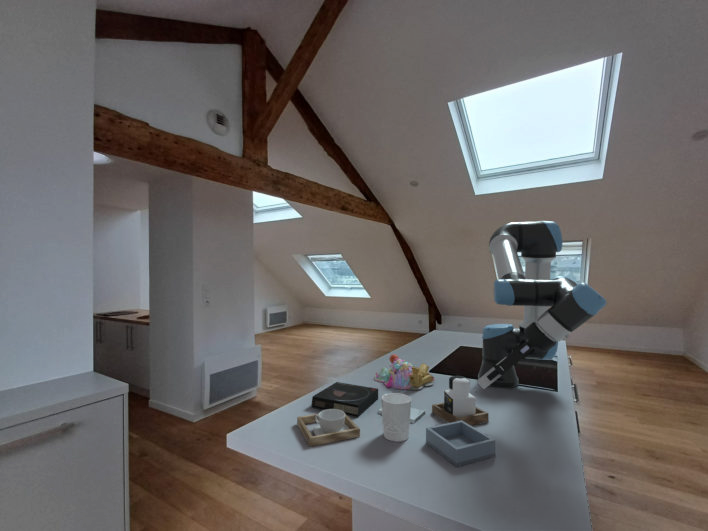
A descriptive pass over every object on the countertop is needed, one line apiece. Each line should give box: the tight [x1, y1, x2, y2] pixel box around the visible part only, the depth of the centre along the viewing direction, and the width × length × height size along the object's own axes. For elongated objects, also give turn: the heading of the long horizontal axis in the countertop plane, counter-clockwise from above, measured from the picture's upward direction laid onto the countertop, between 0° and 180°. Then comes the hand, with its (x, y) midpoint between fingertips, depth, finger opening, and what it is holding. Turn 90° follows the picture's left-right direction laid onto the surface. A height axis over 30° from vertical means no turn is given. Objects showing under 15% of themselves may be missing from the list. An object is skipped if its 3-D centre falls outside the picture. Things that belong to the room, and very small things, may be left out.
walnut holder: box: [431, 402, 489, 426], centre depth 101 cm, size 12×12×2 cm
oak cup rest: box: [296, 410, 361, 447], centre depth 91 cm, size 14×14×2 cm
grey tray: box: [425, 420, 496, 468], centre depth 82 cm, size 12×12×4 cm
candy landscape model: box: [374, 353, 436, 391], centre depth 136 cm, size 25×24×9 cm
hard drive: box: [377, 407, 426, 424], centre depth 103 cm, size 2×8×12 cm
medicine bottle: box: [443, 375, 477, 418], centre depth 101 cm, size 7×7×12 cm
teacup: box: [313, 409, 349, 436], centre depth 91 cm, size 10×10×5 cm
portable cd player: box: [311, 381, 379, 418], centre depth 111 cm, size 16×17×4 cm
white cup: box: [381, 392, 412, 443], centre depth 89 cm, size 8×8×10 cm
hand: (487, 378), depth 95 cm, fingers open, 13 cm apart
